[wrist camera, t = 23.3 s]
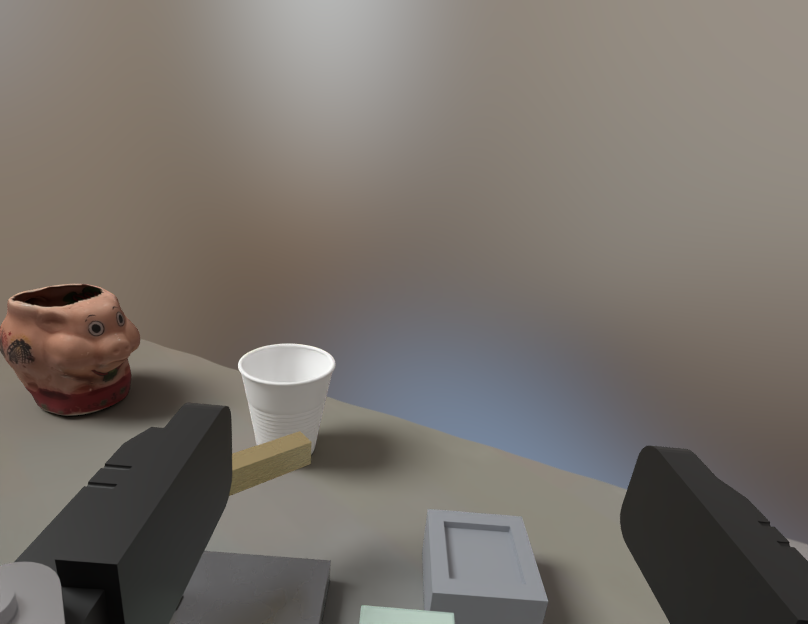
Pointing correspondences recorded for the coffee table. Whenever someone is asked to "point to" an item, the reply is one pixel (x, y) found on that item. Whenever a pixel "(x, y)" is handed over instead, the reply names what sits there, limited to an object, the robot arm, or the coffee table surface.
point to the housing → (481, 569)
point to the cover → (403, 616)
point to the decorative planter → (69, 347)
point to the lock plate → (254, 590)
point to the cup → (286, 389)
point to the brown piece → (269, 461)
